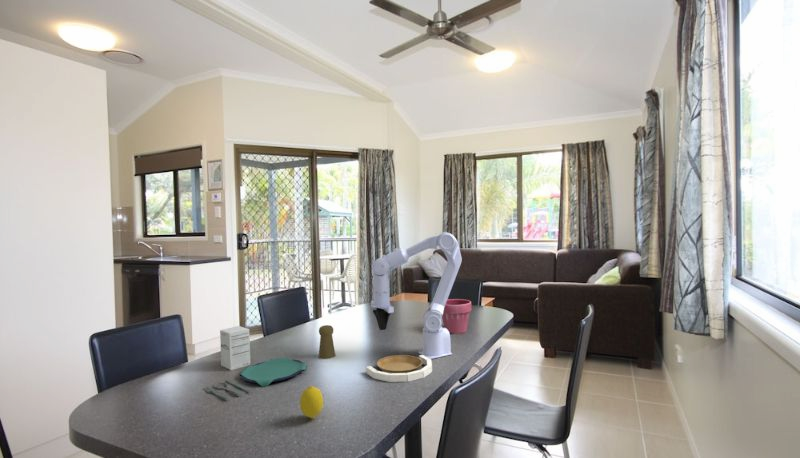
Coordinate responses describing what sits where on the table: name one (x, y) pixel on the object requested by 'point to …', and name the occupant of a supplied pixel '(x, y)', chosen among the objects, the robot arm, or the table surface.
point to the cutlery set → (264, 374)
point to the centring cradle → (402, 376)
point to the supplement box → (235, 347)
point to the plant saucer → (399, 364)
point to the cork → (326, 342)
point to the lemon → (311, 402)
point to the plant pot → (456, 315)
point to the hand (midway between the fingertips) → (382, 329)
